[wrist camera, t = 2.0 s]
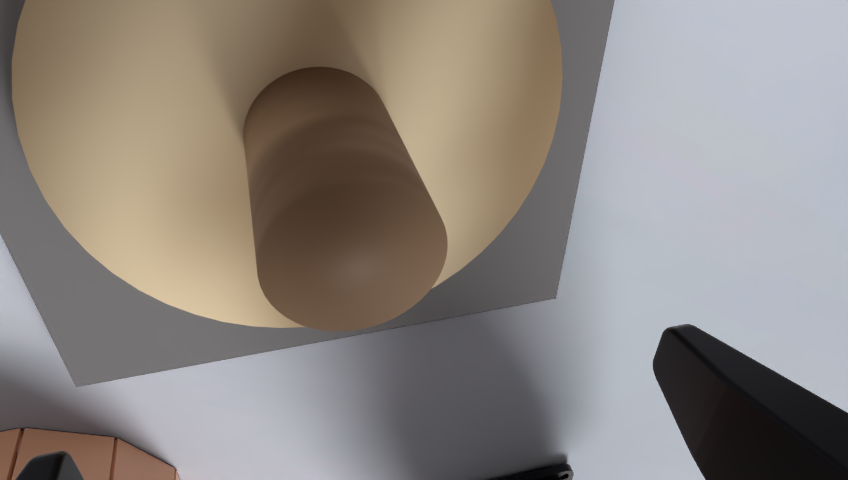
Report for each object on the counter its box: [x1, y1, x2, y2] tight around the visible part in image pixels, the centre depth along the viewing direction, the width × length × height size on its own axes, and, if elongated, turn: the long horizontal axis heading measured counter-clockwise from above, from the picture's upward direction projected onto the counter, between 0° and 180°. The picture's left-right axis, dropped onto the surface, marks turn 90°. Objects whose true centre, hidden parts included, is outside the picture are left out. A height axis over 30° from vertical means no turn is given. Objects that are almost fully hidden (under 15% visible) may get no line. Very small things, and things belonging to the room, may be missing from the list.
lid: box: [12, 0, 563, 332], centre depth 14 cm, size 13×13×6 cm
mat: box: [0, 0, 614, 387], centre depth 17 cm, size 16×16×1 cm
